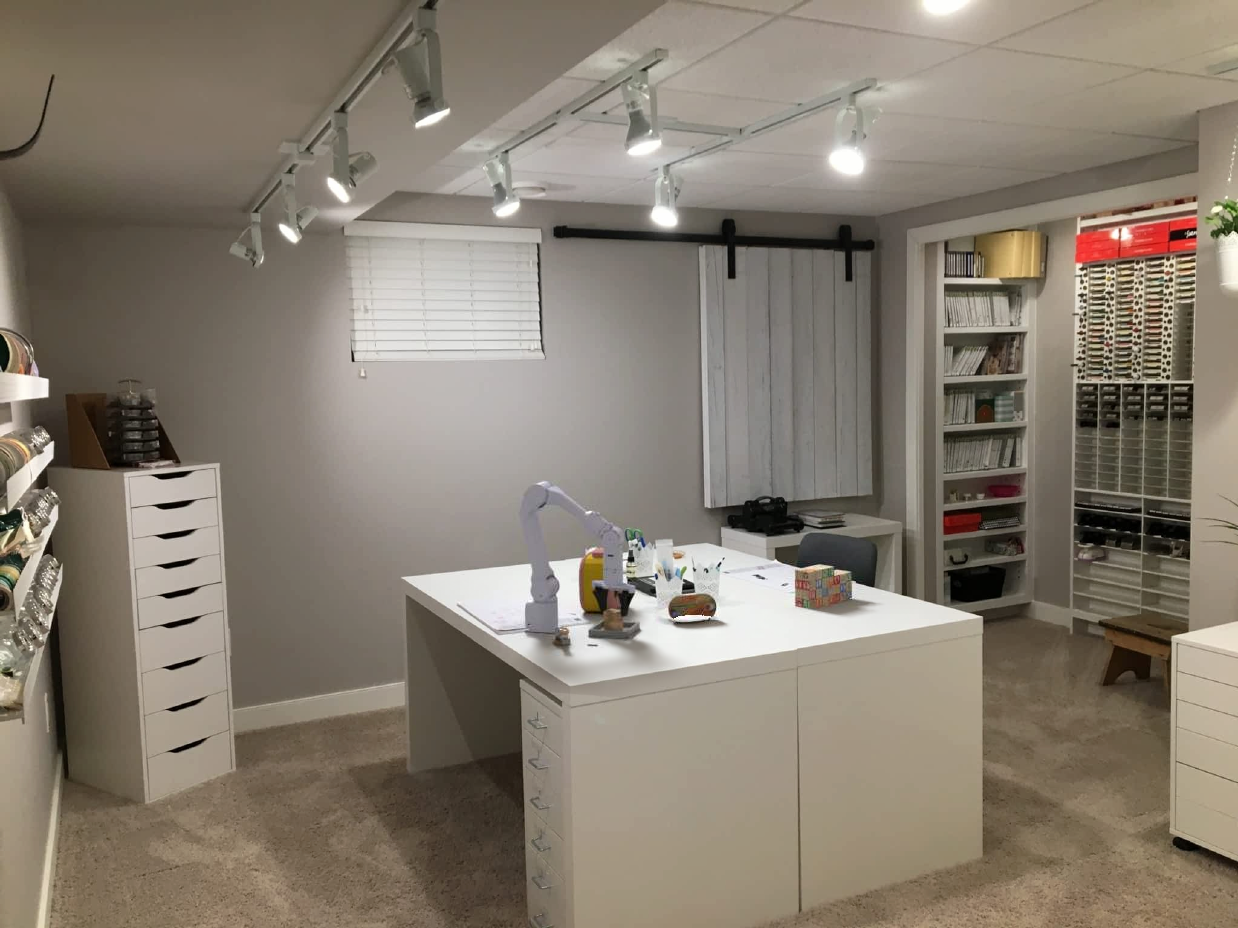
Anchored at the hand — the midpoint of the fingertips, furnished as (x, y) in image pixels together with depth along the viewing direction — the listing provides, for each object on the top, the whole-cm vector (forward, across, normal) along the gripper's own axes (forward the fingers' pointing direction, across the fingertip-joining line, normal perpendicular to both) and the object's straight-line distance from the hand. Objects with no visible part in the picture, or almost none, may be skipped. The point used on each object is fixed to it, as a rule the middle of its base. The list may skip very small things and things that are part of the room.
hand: (613, 614), depth 295 cm
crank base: (+5, -1, -16) cm, 17 cm away
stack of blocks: (+6, +34, +69) cm, 77 cm away
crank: (+4, -3, -20) cm, 20 cm away
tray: (+5, 0, 0) cm, 5 cm away
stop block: (+5, 0, 0) cm, 5 cm away
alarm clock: (+6, -22, +22) cm, 31 cm away
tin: (+6, +12, +24) cm, 28 cm away
